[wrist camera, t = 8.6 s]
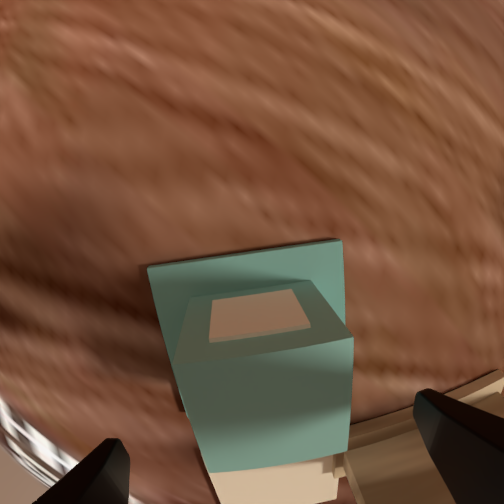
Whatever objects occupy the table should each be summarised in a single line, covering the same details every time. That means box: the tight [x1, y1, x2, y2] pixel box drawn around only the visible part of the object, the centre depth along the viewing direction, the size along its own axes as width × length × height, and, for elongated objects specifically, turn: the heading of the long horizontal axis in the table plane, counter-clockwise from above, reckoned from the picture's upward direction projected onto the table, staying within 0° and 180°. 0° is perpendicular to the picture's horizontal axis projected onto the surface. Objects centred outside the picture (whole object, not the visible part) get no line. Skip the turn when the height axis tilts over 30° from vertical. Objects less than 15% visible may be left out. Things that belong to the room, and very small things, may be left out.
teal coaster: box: [147, 239, 345, 418], centre depth 14 cm, size 8×8×1 cm
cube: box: [172, 280, 354, 473], centre depth 11 cm, size 5×5×5 cm
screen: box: [332, 369, 504, 504], centre depth 13 cm, size 4×13×8 cm, turn 97°
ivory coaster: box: [201, 454, 339, 504], centre depth 17 cm, size 8×8×1 cm
